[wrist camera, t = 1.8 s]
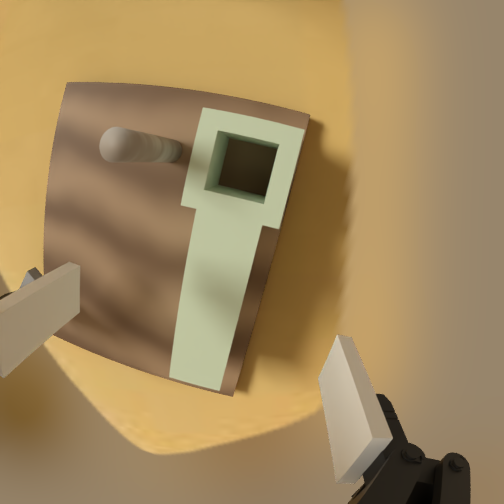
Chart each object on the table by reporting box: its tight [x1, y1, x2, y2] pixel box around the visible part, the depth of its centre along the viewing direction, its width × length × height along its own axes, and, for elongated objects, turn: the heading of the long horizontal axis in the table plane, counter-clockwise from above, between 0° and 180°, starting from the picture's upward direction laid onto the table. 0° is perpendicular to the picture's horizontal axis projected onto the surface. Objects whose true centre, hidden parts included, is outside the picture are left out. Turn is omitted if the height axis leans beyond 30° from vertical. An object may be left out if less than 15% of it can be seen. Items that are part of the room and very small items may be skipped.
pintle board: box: [20, 82, 310, 397], centre depth 20 cm, size 26×22×10 cm
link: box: [169, 107, 305, 391], centre depth 21 cm, size 19×6×5 cm, turn 166°
